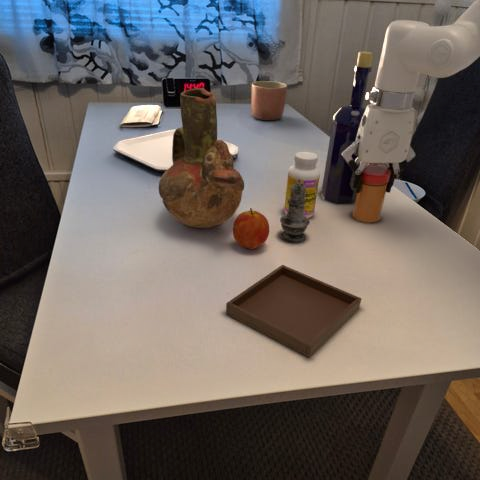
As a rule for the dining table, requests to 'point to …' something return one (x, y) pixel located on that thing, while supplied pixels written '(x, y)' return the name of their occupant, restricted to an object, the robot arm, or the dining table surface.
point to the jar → (369, 202)
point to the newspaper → (142, 116)
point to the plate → (154, 149)
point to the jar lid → (376, 174)
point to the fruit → (250, 229)
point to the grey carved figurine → (295, 215)
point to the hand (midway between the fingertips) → (370, 189)
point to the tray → (294, 309)
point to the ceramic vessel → (200, 167)
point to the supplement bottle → (304, 180)
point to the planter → (268, 99)
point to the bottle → (345, 138)
